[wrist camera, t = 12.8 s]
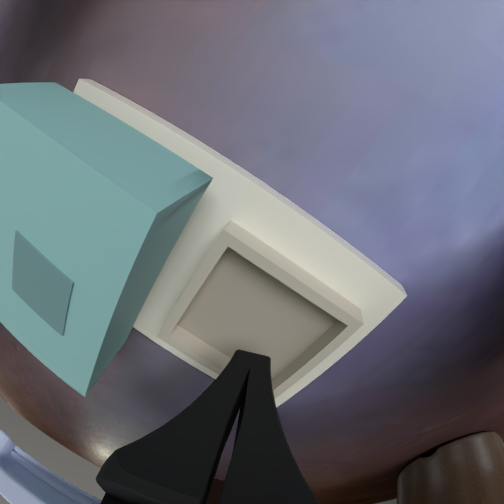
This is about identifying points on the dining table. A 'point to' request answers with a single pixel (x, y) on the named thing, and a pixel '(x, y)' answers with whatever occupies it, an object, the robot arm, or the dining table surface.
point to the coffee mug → (215, 492)
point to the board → (253, 271)
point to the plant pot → (457, 473)
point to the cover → (82, 225)
